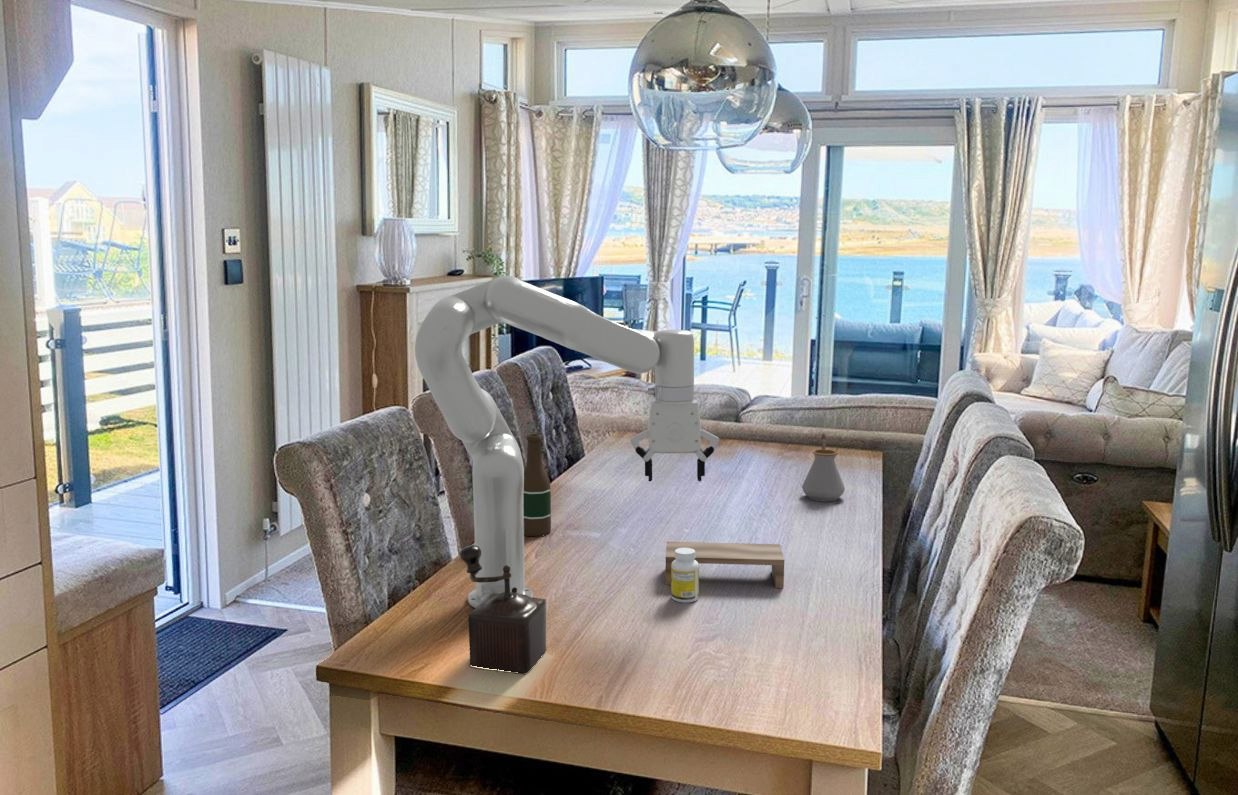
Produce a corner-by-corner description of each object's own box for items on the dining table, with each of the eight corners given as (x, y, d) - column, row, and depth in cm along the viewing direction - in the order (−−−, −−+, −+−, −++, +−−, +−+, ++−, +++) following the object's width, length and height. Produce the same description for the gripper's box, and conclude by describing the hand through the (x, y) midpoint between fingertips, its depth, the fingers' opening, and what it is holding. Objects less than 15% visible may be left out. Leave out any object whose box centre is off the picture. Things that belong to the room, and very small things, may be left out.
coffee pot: (845, 504, 259) (847, 449, 257) (801, 502, 261) (803, 447, 259) (842, 484, 280) (844, 433, 277) (801, 482, 282) (803, 431, 279)
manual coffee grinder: (550, 648, 169) (548, 548, 166) (526, 675, 159) (525, 570, 156) (467, 638, 174) (465, 540, 171) (440, 664, 163) (436, 561, 160)
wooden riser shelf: (783, 588, 198) (784, 559, 197) (665, 584, 200) (665, 556, 199) (779, 571, 208) (779, 544, 207) (666, 568, 209) (666, 541, 208)
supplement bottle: (681, 591, 196) (682, 544, 195) (703, 597, 193) (704, 550, 191) (665, 598, 192) (666, 551, 190) (688, 605, 189) (688, 557, 187)
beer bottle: (546, 538, 230) (545, 438, 226) (514, 536, 231) (513, 437, 227) (555, 528, 237) (554, 432, 233) (524, 526, 239) (523, 430, 235)
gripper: (629, 397, 186) (630, 484, 188) (720, 397, 185) (720, 484, 188) (630, 391, 193) (631, 475, 196) (718, 390, 192) (717, 474, 195)
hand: (674, 479), depth 192 cm, fingers open, 9 cm apart
